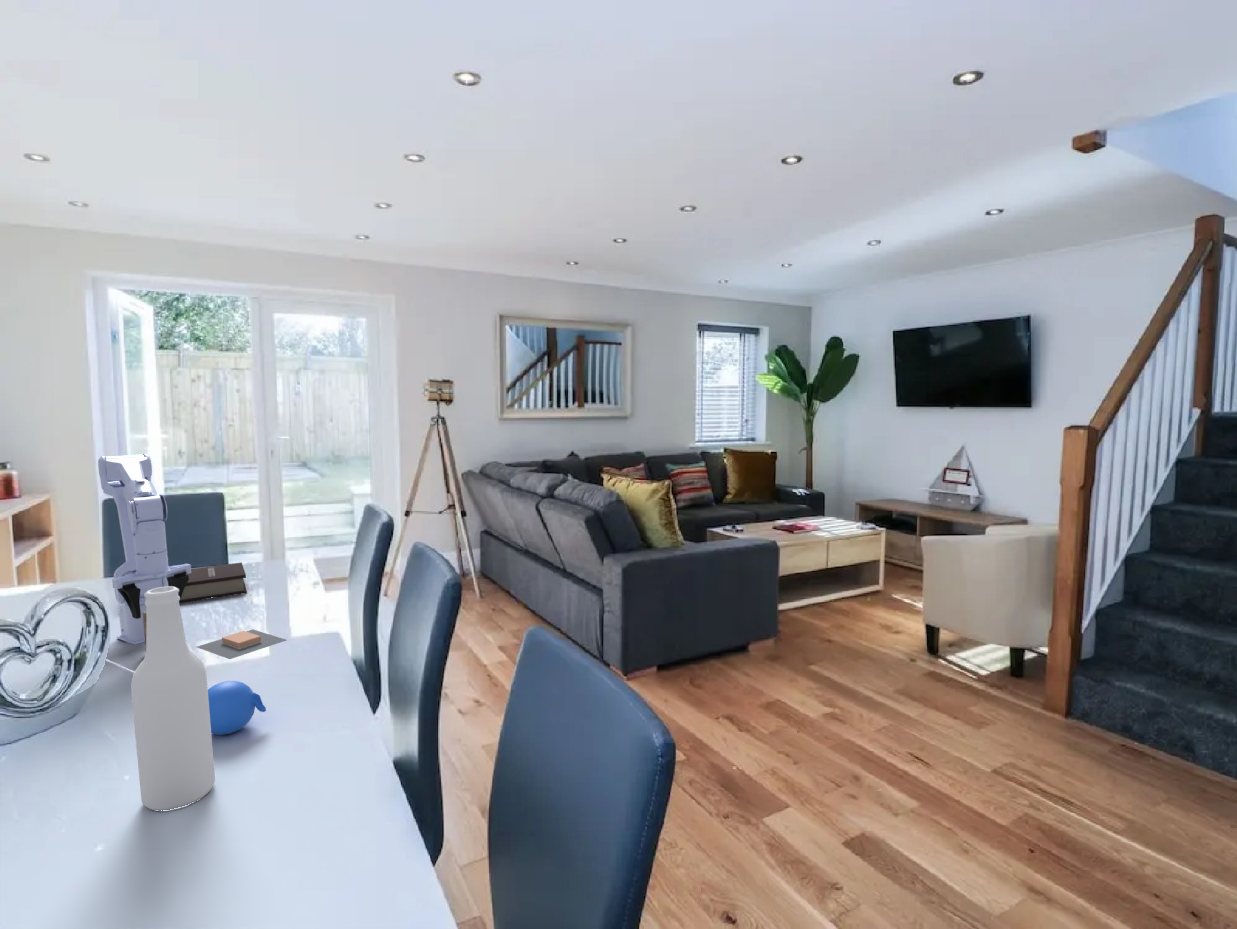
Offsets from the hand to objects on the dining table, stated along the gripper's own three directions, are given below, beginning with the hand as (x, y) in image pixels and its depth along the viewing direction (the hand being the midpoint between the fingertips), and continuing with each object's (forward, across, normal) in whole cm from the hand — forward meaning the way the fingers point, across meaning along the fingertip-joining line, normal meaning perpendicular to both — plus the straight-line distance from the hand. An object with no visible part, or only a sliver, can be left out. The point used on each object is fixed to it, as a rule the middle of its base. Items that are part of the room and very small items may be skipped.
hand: (156, 612), depth 147 cm
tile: (+9, +13, -5) cm, 17 cm away
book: (+11, +28, +46) cm, 55 cm away
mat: (+10, +13, -9) cm, 19 cm away
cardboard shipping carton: (+10, 0, 0) cm, 10 cm away
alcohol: (+10, -24, -60) cm, 65 cm away
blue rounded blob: (+10, -9, -46) cm, 48 cm away
